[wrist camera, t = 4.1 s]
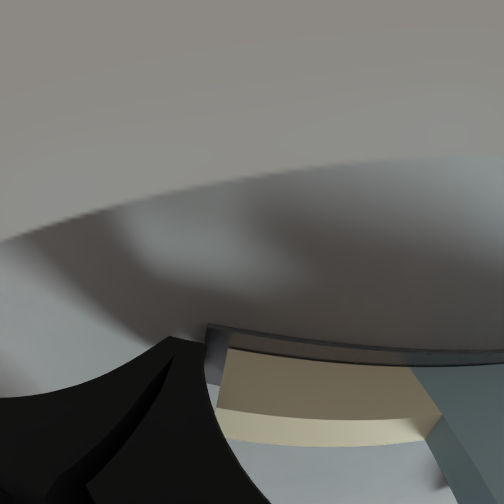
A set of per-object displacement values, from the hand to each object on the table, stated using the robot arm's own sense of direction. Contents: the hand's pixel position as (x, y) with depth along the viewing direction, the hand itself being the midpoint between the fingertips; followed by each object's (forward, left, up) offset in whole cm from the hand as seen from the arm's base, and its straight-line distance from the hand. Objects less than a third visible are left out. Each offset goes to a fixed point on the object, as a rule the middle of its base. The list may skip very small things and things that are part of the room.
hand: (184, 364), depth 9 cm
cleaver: (+13, 0, -1) cm, 13 cm away
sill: (+23, 0, -1) cm, 23 cm away
